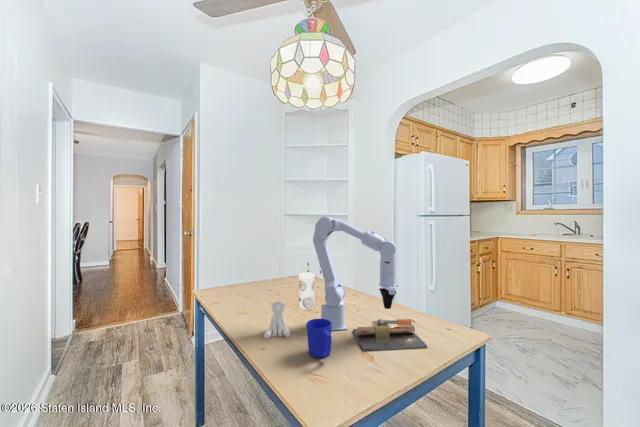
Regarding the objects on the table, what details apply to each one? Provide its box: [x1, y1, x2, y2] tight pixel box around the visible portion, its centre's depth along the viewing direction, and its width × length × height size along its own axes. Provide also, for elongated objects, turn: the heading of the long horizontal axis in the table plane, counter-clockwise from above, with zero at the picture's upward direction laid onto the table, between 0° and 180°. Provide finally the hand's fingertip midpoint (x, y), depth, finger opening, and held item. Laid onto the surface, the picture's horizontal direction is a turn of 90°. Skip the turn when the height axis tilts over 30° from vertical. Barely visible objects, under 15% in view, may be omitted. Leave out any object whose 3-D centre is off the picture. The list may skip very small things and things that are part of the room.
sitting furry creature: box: [263, 301, 291, 340], centre depth 109 cm, size 10×9×12 cm
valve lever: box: [376, 318, 412, 325], centre depth 106 cm, size 12×2×1 cm, turn 88°
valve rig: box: [352, 320, 428, 352], centre depth 104 cm, size 22×16×5 cm
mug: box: [305, 318, 332, 359], centre depth 92 cm, size 8×12×10 cm
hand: (387, 308), depth 109 cm, fingers closed
